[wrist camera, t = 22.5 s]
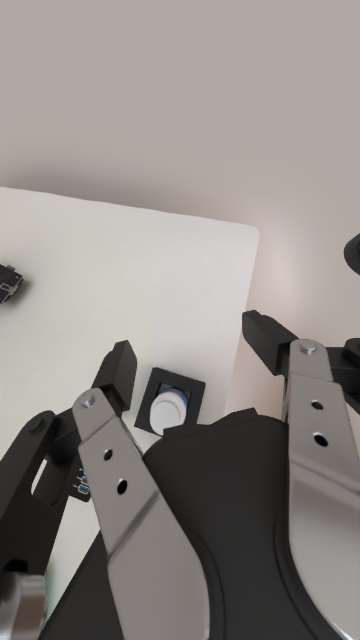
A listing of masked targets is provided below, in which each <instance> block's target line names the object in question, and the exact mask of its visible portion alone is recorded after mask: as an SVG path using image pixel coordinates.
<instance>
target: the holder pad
mask: <svg viewBox="0 0 360 640" xmlns="http://www.w3.org/2000/svg"><path fill="white" fill-rule="evenodd" d="M161 383H164V384H167V385H170V386H174V387H177V388H180V389H183V390H186V391H189V392H191V395H190V399H189V403H188V406H187V411H186V417H185V420H184V423H183V424H196V423H197V419H198V415H199V411H200V406H201V402H202V398H203V394H204V390H205V385H206V384H205V383H204V382H201V381H198V380H194V379H191V378H188V377H185V376H182V375H179V374H176V373H173V372H169V371H166V370H163V369H160V368H157V367H156V368H153V369H152V372H151V375H150V378H149V381H148V384H147V388H146V391H145V394H144V397H143V400H142V403H141V406H140V409H139V412H138V415H137V418H136V421H135V425H134V427H137V428H140V429H142V430H145V431H147V432H150V433H153V434H155V435H158V436H161V437H163V435H159V434H157V433H156V432H155V431H154V430H153V428H152V427H151V424H150V411H151V406H152V404H153V402H154V400H155V399H156V398H157V397H158V393H159V390H160V387H161Z"/></svg>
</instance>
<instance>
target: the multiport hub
mask: <svg viewBox="0 0 360 640" xmlns="http://www.w3.org/2000/svg"><path fill="white" fill-rule="evenodd" d="M69 496H72V497H74V498H77V499H79V500H82V501H84V502H88V501H89V500H90V498H91V493H90V490H89V486H88V483H87V479H86V475H85V472H84V468H83V465H82V461H81V458H80V461H79V464H78V468H77V471H76V474H75V477H74V481H73V484H72V487H71V490H70V493H69Z"/></svg>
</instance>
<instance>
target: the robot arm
mask: <svg viewBox="0 0 360 640" xmlns="http://www.w3.org/2000/svg"><path fill="white" fill-rule="evenodd" d="M358 253H359V255H360V241H359V243H358ZM242 331H243V336H244V338H245V340H246V341H247V343H248V344H249V345H250V346H251V347H252V349H253V350H254V351H255V353H256V354H257V355H258V356H259V357H260V359H261V360H262V361H263V363H264V364H265V365H266V366H267V367H268V369H269V370H270V371H271V373H272V374H273V375H274V376H277V375H281V374H282V375H283V376H284V377H285V379H284V391H283V407H282V416H281V420H278V419H276V418H273V417H269V416H264V415H258V414H257V412H256V410H255V408H250V409H245V410H241V411H237V412H233V413H230V414H229V415H227V416H225V417H223V418H221V419H220V420H218V421H216V422H214V423H213V424H210V425H203V424H182V425H177V426H173V427H169V428H165V429H163V437H162V438H161V439H159V440H158V441H157V442H155V443H154V444H153V445H152V446H151V447H150V448H149V449H148V450H147V451H146V453H145V454H144V453H143V451H142V450H141V448H140V447H139V445H138V444H137V442H136V441H135V439H134V437H133V436H132V434H131V433H130V431H129V429H128V428H127V426H126V425H125V423H124V421H123V420H122V418H121V415H122V412H123V411H127V410H130V405H131V399H132V393H133V387H134V381H135V375H136V370H137V358H136V356H135V353H134V351H133V349H132V347H131V345H130V343H129V341H128V340H125V341H121V342H117V343H115V346H114V348H113V351H111V352H109V353H108V354H107V355H106V356H105V358H104V360H103V362H102V365H101V366H100V369H99V371H98V373H97V375H96V378H95V380H94V382H93V384H92V387H91V389H89V390H87V391H86V392H84V393H83V394H81V395H80V396H79V397H78V398H77V400H76V401H75V403H74V404H73V407H72V408H70V409H68V410H66V411H64V412H62V413H60V414H58V415H56V414H55V413H54V412H53V411H50V410H47V411H44V412H41V413H39V414H38V415H36V416H35V417H33V418H32V419H31V420H30V421H28V422H27V423H26V424H25V426H24V427H23V428H22V429H21V431H20V432H19V434H18V435H17V437H16V438H15V440H14V441H13V443H12V444H11V446H10V448H9V449H8V451H7V452H6V454H5V455H4V457H3V458H2V460H1V461H0V640H360V460H359V456H358V452H357V448H356V444H355V439H354V436H353V432H352V428H351V423H350V419H349V416H348V411H347V407H346V403H345V401H346V402H347V403H348V404H349V405H350V406H351V407H352V408H353V409H354V410H355V411H356V412H357V413H358V414H359V415H360V338H352V339H349V340H347V341H346V343H345V345H344V347H324V346H323V345H322V344H320V343H318V342H316V341H313V340H309V339H299V338H298V337H297V336H296V335H294V334H293V333H291V332H290V331H289V330H288V329H286V328H285V327H283V326H282V325H281V324H279V323H278V322H277V321H276V320H274V319H273V318H271V317H269V316H266V315H261V314H260V313H258V312H257V311H256V310H251V311H247V312H243V313H242ZM80 458H81V461H82V465H83V468H84V472H85V475H86V479H87V483H88V486H89V490H90V493H91V497H92V500H93V504H94V507H95V511H96V514H97V518H98V521H99V525H100V531H99V533H98V534H97V536H96V538H95V540H94V541H93V543H92V545H91V547H90V548H89V550H88V552H87V553H86V555H85V557H84V559H83V560H82V562H81V564H80V566H79V567H78V569H77V571H76V573H75V574H74V576H73V578H72V580H71V581H70V583H69V585H68V586H67V588H66V590H65V592H64V593H63V595H62V597H61V599H60V600H59V602H58V604H57V606H56V607H55V609H54V611H53V613H52V614H51V616H50V618H49V620H48V621H47V623H46V625H45V626H44V628H43V630H42V632H41V634H40V630H41V628H42V626H43V624H44V621H45V618H46V615H47V602H46V601H45V599H46V583H45V579H44V574H45V571H46V568H47V565H48V561H49V558H50V555H51V552H52V549H53V545H54V542H55V539H56V536H57V532H58V529H59V526H60V523H61V519H62V516H63V513H64V510H65V506H66V503H67V500H68V497H69V493H70V490H71V487H72V484H73V481H74V477H75V474H76V471H77V468H78V464H79V461H80ZM43 459H45V460H47V463H46V466H45V468H44V470H43V472H42V475H41V477H40V479H39V481H38V483H37V486H36V488H35V490H34V492H33V495H32V494H31V487H32V483H33V481H34V479H35V476H36V474H37V472H38V470H39V468H40V466H41V464H42V462H43Z"/></svg>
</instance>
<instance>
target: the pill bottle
mask: <svg viewBox="0 0 360 640" xmlns="http://www.w3.org/2000/svg"><path fill="white" fill-rule="evenodd" d="M186 411H187V397H186V395H185V393H184V392H183V391H182V390H181V389H179V388H176V387H170V388H167V389H166V390H164V391H163V392H162V393H161V394H160V395H159V396H158V397H157V398H156V399H155V400H154V402H153V404H152V406H151V411H150V424H151V427H152V428H153V430H154V431H155V432H156V433H157V434H159V435H163V429H165V428H169V427H173V426H177V425H182V424H183V423H184V420H185V417H186Z"/></svg>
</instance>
